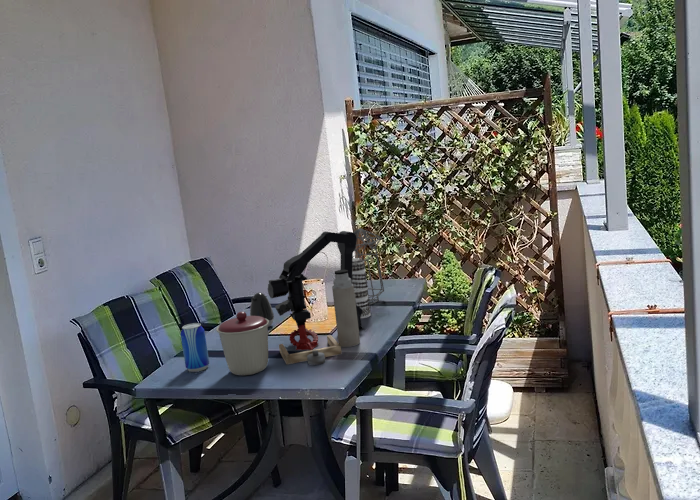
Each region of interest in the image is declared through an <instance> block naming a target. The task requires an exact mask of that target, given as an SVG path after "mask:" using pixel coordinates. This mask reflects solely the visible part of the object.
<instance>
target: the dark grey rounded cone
mask: <svg viewBox="0 0 700 500" xmlns="http://www.w3.org/2000/svg"><path fill="white" fill-rule="evenodd" d="M250 300H251V301H250V302H251V303H250V307H249V308H250V309H249V316H260V317H263V318H265V319H268V320H269V324H268V328H270V327H271V326H272V325H273V323H274V318H275V315H274V311H273V307H272V305H271V303H270V301H269V299H268V297H267V296H266V295H265V294H264V293H263V292H256V293H255V294H254V295H253V296H252V297H251V298H250Z"/></svg>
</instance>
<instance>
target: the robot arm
mask: <svg viewBox="0 0 700 500" xmlns="http://www.w3.org/2000/svg"><path fill="white" fill-rule="evenodd" d="M353 232H354V231H353ZM353 232H351V231H347V230H346V231H345V230H342V231H340V232H331V231H323V232H322V233H321V234H320V235H319V236H318V237H317V238H316V239H315V240H314V241H312V242H311V243H310V244H309V245H308V246H307V247H305V249H304V250H303V251H301V252H300V253H299V254H297V255H295V256H293V257H291V258H289V259H288V260H286V261H285V262H284V263H283V269H282V270H281V273H280V275H279V278H276V279H269V280H268V285H267V293H268V296H269V297H270V299H275V298H280V297H284V296H285V297H286V295H288V296H287V300H283V301H282V302H280V303H278V304H276V305H275V306H274V308H275V310H276V312H277V313H278V315H279V316H283V315H284V314H286V313H287V312H291V313H290V314H289V315H290V318H292V319H293V320H294V321H295V323H296V326H297V329H299V328H298V327H299V326H300V325H305V326H306V322H307V320H310V319H312V316H311V314H312V313H311V312H310V311H309V310H307V305H306V301H305V299H306V295H305V293H304V286H303V281H307V280H308V277H306V276H305V275H304V274H303V273H304V271H305V270H306V268H307V267H308V264H309V263H310V261H312V260H313V259H314V258H315V257H316V256H317V255H318V254H319V253H320V252H321V251H323V249H325V248H326V247H327V246H328V245H329V244H330V243H337V245H336V246H337V249H338V251H339V253H340V267H339V270H348V277H349V278H351V280H352V258H354V257H353V256H354V252H355V251H354V250H355V249H357V246H356V245H357V243H358V242H357V241H358V238H357V235H355V234H354V233H353ZM351 283H352V281H351ZM355 302H356V299H355ZM356 311H357V319H358V328H359V331H361V330H364V328H363V326H362V319H361V317H360V315H362V311H363V310H362V309H361V308H360V307H358V306H357V305H356Z"/></svg>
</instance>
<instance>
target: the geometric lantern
mask: <svg viewBox="0 0 700 500" xmlns="http://www.w3.org/2000/svg"><path fill="white" fill-rule="evenodd" d="M353 233H354V234H355V235H356V236H357V239H359V240H360V241H362V242H363V243H359V244H356V247H358V246H359V247H358V248H355V250H354V252H356V254H355V255H353V258H355V257H357V258H361V259H362V260H363V261H364V268H365V269H366V263H365V261H366V262H367V269H368V274H369V279H370V286H371V287H367V288H368V289H367V295H368V299H369V303H370V304H369V305H368V306H370V305H374V304H375V303H377V302H379V301H380V299H379V297H380V296H381V294H383V293H385V288H384V283H383V282H384V281H383V277H382V271H381V267H380V262H379V254H378V250H377V245H379V243H380V241H381V240H382V239H383V237H382V236H380V235H378V234H375V233H373V232H371V231H368V230H365V229H364V228H357V229H356V230H354V231H353ZM369 234H370V235H373V236H375V237H373V236H370V235H369ZM359 235H360V236H359ZM370 239H371V240H370ZM374 239H376V240H374ZM365 240H366V241H365ZM367 246H369V248H370V249H371V251H369V253H364V251H365V249H366V247H367ZM362 247H363V250H362V252H361V253H360V252H359V251H358V250H359V249H361V248H362ZM373 250H375V253H372V251H373ZM367 255H368V257H367V259H364V256H367ZM370 256H372V257H370ZM375 257H376V261H377V262H376V263H377V268H378V276H379V283H380V288H374V287H373V281H372V275H371V274H372V273H371V270H370V262H369V260H371V259H374V258H375ZM366 271H367V270H365V273H366ZM366 274H367V273H366ZM365 277H367V275H366V276H365ZM365 280H366V282H367V284H366V285H367V286H368V281H367V280H368V278H367V279H365ZM369 290H371V291H372V292H371V293H372V294H369ZM376 290H377V291H379V292H378V293H376V294H375V293H374V291H376Z"/></svg>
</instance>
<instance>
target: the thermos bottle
mask: <svg viewBox="0 0 700 500" xmlns="http://www.w3.org/2000/svg"><path fill="white" fill-rule="evenodd" d="M334 278H335V279H333V280H332V281H333V283H332V287H331V289H332V297H333V304H334V306H333V307H334V314H335V323H336V331H337V340H338V341H337V342H338V343H339V345H340V346H341V348H342V347H343V348H351V347H355V346H358V345H360V343H361V339H360V330H359V328H358V319H357V311H356V302H355V293H354V284H352V283H351V281H352V280H351V278H349V277H348V270H340V269H338V270H335V271H334Z"/></svg>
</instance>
